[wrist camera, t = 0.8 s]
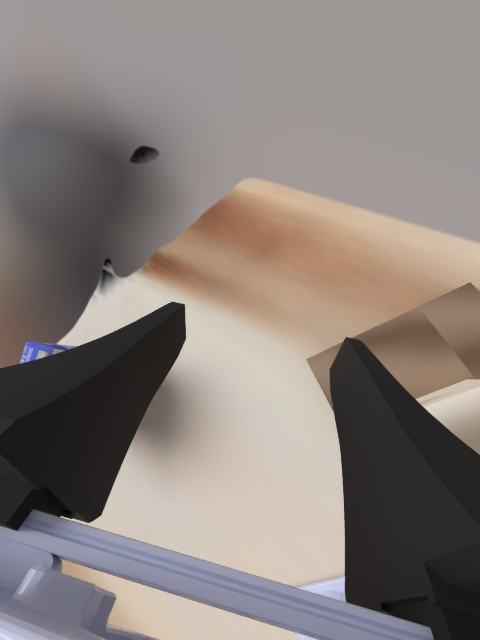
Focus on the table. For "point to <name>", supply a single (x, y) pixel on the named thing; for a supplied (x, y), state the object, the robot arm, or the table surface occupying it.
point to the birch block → (457, 410)
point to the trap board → (422, 345)
